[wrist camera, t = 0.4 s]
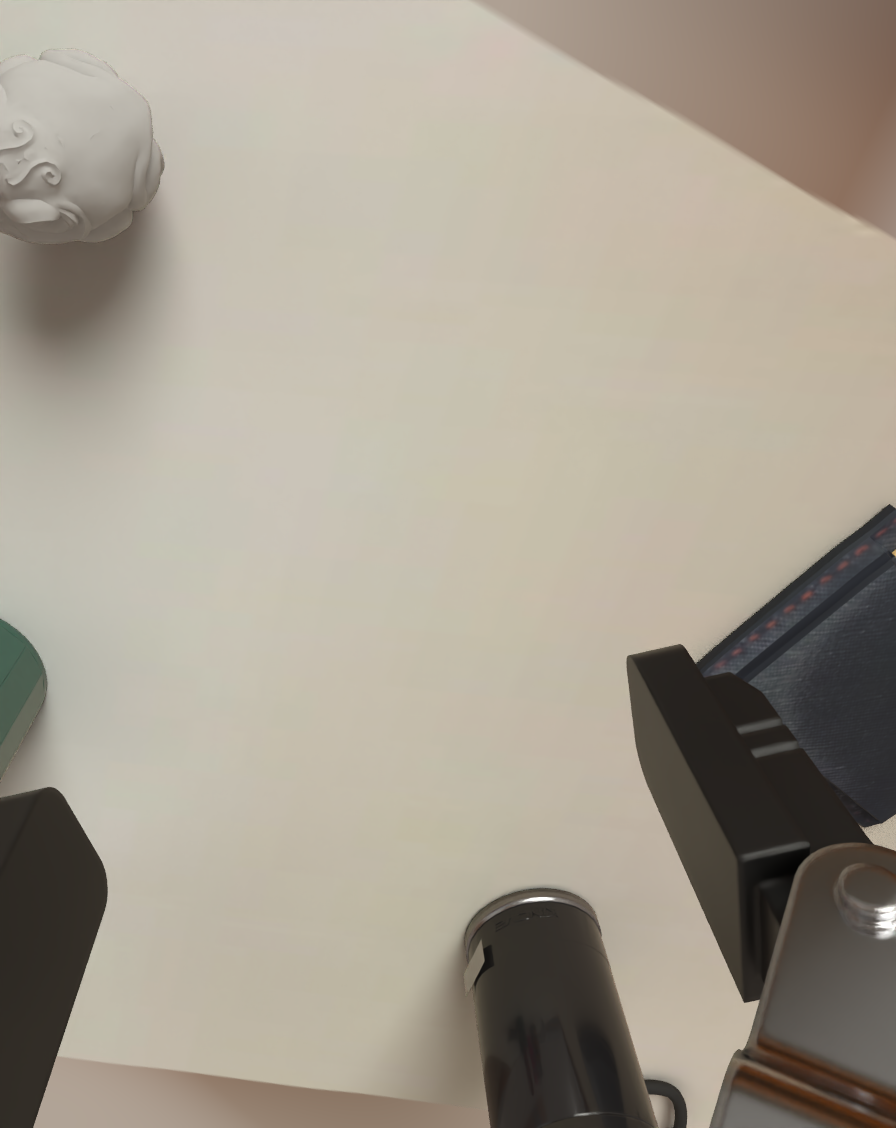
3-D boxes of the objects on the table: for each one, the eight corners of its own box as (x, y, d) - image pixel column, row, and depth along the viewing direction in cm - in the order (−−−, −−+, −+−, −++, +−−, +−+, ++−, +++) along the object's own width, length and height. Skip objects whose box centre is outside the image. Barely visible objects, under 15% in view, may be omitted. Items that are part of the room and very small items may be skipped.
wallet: (687, 695, 45) (919, 508, 41) (675, 675, 47) (897, 493, 43) (871, 851, 53) (1082, 708, 49) (855, 829, 55) (1058, 689, 50)
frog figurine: (-34, 110, 31) (-131, 106, 24) (123, 18, 30) (63, -10, 24) (69, 263, 33) (5, 293, 27) (216, 182, 33) (183, 195, 26)
